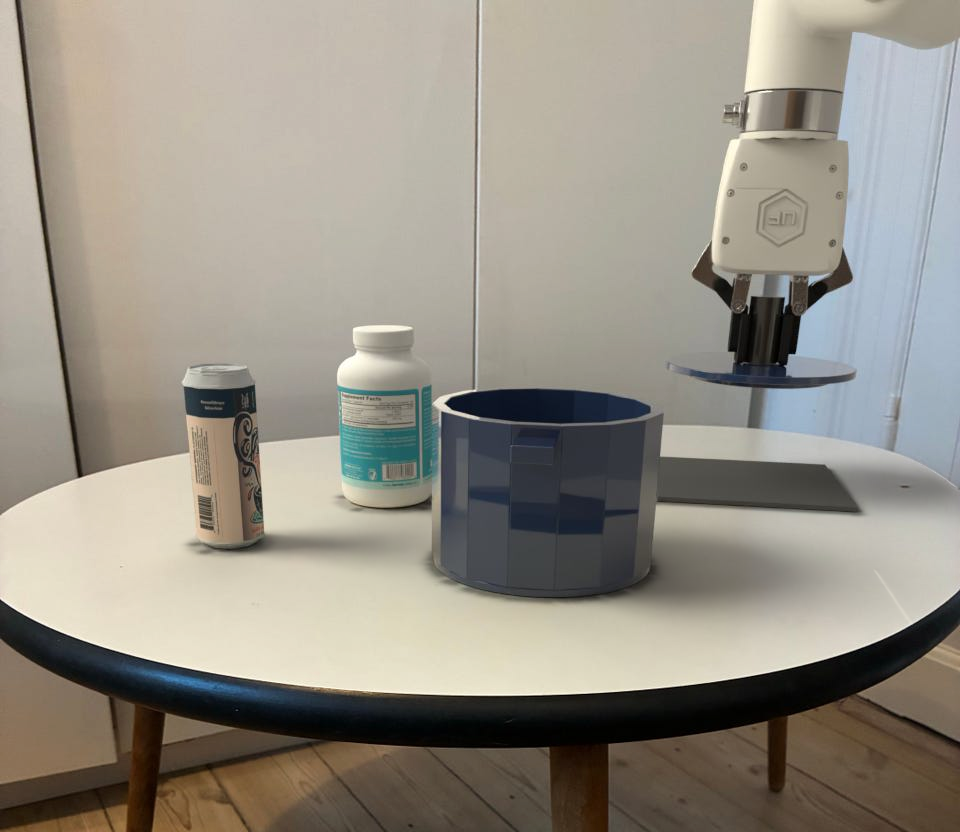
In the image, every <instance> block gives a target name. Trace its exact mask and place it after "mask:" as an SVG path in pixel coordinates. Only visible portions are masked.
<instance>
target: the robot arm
mask: <svg viewBox="0 0 960 832" xmlns="http://www.w3.org/2000/svg"><path fill="white" fill-rule="evenodd" d="M752 6H753V8H752V15H751V24H750V32H749V33H750V34H749V43H748V52H747V61H746V72H745V81H744V88H743V89H744V90H743V96H742V99H739V100H738V102H734V103H733V104H724V105H723V111H722V120H721V121H722V124H731V126H735V128H736V129H738V134H739V135H738V138H735V139H730V140H729V143H728V147H727V150H726V153H725V154H726V155H725V157H724V162H723V167H722V173H721V178H720V182H719V186H718V192H717V197H716V204H715V209H714V215H713V216H714V217H713V224H712V229H711V230H712V231H711V237H710V239H709V240H708V242H707V244H706V245H705V247H704V249H703V250H702V253H701V254H700V255H699V257H698V258H697V260H696V262H695V264H694V265H693V267H692V269H691V271H690V275H691V277H692V279H694V280H695V281H697V282H698V283H700V284H702V285H704V286H705V287H706V288H709V289H710V290H711V291H714V292H715V293H716V294H717V295H718V297H719V298H720V299H721V300H722V301H723V303H724V304H725V305H726V306H727V307H728V308H729V310H730V311H731V313H730V323H729V332H728V341H727V352H734V361H735V362H736V363H739V364H743V362H745V360H746V352H747V344H748V335H749V327H750V318H751V316H750V315H749V306H748V304H747V303H748V302H747V301H748V296H749V292H750V287H751V282H752V278H753V275H762V276H763V275H767V276H788V291H787V296H788V297H787V304H785V305H784V311H783V318H782V326H781V334H780V341H779V349H778V357H777V363H778V364H780V365H787V363H788V356H789V355H793V356H796V354H797V351H798V343H799V342H798V341H799V336H800V328H801V322H802V321H801V320H802V316H804V315H805V314H806V312H807V311H808V310H809V309H810V308H811V307H812V306H814V305H815V304H816V303H818V302H819V300H821V299H822V298H823V297H824V296H825V295H827V294H829V293H832V292H834V291H837V290H838V289H841V288H843V287H845V286H847V285H849V284H851V283H852V282H853V280H854V275H853V272H852V269H851V266H850V263H849V260H848V257H847V254H846V252H845V249H844V238H845V227H846V218H847V208H848V207H847V206H848V193H849V173H850V169H849V168H850V167H849V163H850V162H849V159H850V157H849V153H850V152H849V141H848V140H843V139H841V140H840V139H838V137H839V129H840V123H841V116H842V110H843V108H842V107H843V101H844V94H845V87H846V80H847V73H848V66H849V60H850V52H851V46H852V39H853V33H857V34H858V33H859V34H866V35H869V36H872V37H877V38H880V39H884V40H888V41H892V42H894V43H897V44H899V45H902V46H904V47H907V48H912V49H916V50H919V51H920V50H923V51H924V50H925V51H927V50H933V49H938V48H942V47H944V46H947V45H949V44H952V43H953V42H955V41H957V40H958V39H960V0H753V5H752ZM713 266H714V267H716V268H717V269H719V270H721V271H723V272H725V273H729V274H733V277H732V283H729V281H728V280H727V279H725V278H724V277H723V276H721V275H719V274H717V272H715V271H714V270H713ZM825 275H826V276H825ZM817 276H824V277H822V278H820V279H817V280H814V281H812V282H811V283H810V284H809V279H810V277H817Z"/></svg>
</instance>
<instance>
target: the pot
mask: <svg viewBox="0 0 960 832" xmlns="http://www.w3.org/2000/svg"><path fill="white" fill-rule="evenodd" d="M664 414H665V412H664V406H663V405H662V404H660V403H658V402H654V401H652V400H650V399H647V398H644V397H640V396H635V395H630V394H625V393H619V392H614V391H607V390H606V391H605V390H596V389H587V388H574V387H573V388H572V387H551V386H550V387H549V386H545V387H544V386H509V387H506V386H504V387H489V388H479V389H469V390H461V391H458V392H453V393H449V394H445V395H441V396H439V397H438V398H437V399H435V400H434V401H432V493H431V554H432V556H433V562H434V565H435V567H436V568H437V569H438V571H439V572H440V573H442V574H443V575H444V576H446V577H447V578H449V579H451V580H453V581H455V582H458V583H460V584H463V585H466V586H469V587H473V588H474V589H475V588H476V589H479V590H483V591H487V592H493V593H498V594H504V595H512V596H520V597H531V598H532V597H534V598H573V597H584V596H594V595H600V594H601V595H602V594H607V593H611V592H616V591H619V590H622V589H626V588H629V587H631V586H633V585H635V584H637V583H639V582H640V581H643V579H644V578H646V577H647V575H648V573H649V572H650V568H651V566H652V557H653V556H652V555H653V544H654V531H655V519H656V509H657V508H656V507H657V487H658V475H659V463H660V456H661V450H662V440H663V439H662V438H663V427H664V417H665V415H664Z"/></svg>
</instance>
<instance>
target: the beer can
mask: <svg viewBox="0 0 960 832" xmlns="http://www.w3.org/2000/svg"><path fill="white" fill-rule="evenodd" d="M181 384H182V386H183V395H184V405H185V416H186V417H185V419H186V428H187V441H188V451H189V460H190V461H189V464H190V472H191V474H190V475H191V484H192V495H193V497H192V498H193V507H194V519H195V530H196V533H195V538H196V539H197V540H198V541H199V542H201V543H203V544H205V545H206V546H207V547H210V548H215V549H222V550H223V549H226V550H229V549H241V548H246V547H249V546H252V545H254V544H256V543H257V542H258V541H259V540H260V539H262V538H263V537H264V536H265V535H266V532H265V521H264V506H263V505H264V503H263V490H262V475H261V474H262V473H261V459H260V441H259V440H260V439H259V427H258V426H259V425H258V424H259V423H258V411H257V397H256V396H257V393H256V380H255V379H254V378H253V377H252V375H251V373H250V369H249V368H248V366H247V365H246V364H239V363H229V362H228V363H224V362H223V363H222V362H221V363H220V362H214V363H198V364H193V365H188V366H187V369H186V372H185V376H184V378H183V380H182V381H181Z"/></svg>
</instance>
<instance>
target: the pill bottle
mask: <svg viewBox="0 0 960 832" xmlns="http://www.w3.org/2000/svg"><path fill="white" fill-rule="evenodd" d="M414 335H415V333H414V327H411V326H406V325H397V324H396V325H394V324H387V325H386V324H376V325H362V326H356V327H354V328H352V343H353V345H354V348H355V349H356V352H355V354H354V355H353V356H350V357H348V358H346V359H344V361H342V362H341V363H340V364H339V367H338V369H337V372H336V380H337V404H338V405H337V406H338V407H337V408H338V428H339V432H338V433H339V450H340V451H339V452H340V469H341V470H340V474H341V475H340V477H341V490H342V495H343V496H344V497H345V498H346V500H347V501H349V502H350V503H353V504H355V505H358V506H363V507H369V508H381V509H383V508H384V509H386V508H388V509H389V508H391V509H392V508H403V507H409V506H413V505H417V504H421V503H422V502H425V501H426V500H428V499H429V497H431V496H432V403H433V401H432V400H433V399H432V398H433V397H432V396H433V395H432V394H433V393H432V392H433V391H432V388H433V387H432V371H431V369H430V366H429V364H428V363H427V362H425V360H423V359H422V358H421V357H418V356H416V355H414V354H413V353H412V351H411V349H412V348H413V347H414V344H415V336H414Z"/></svg>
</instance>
